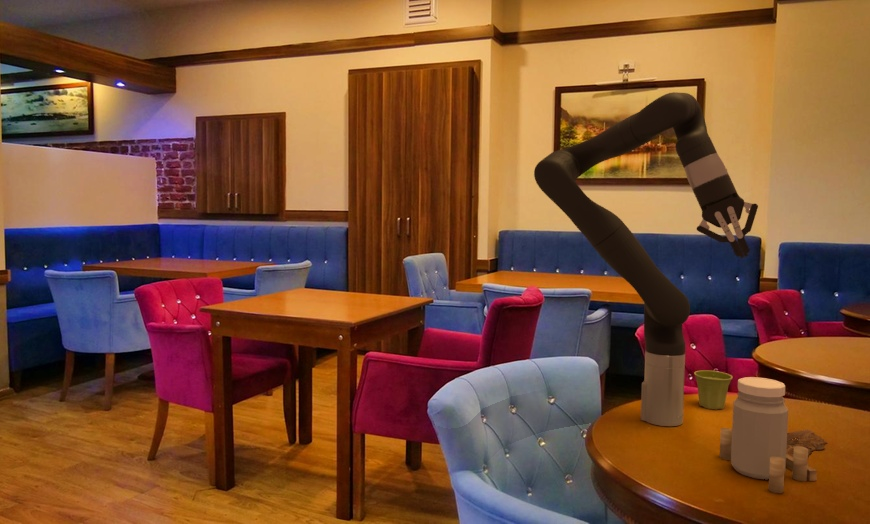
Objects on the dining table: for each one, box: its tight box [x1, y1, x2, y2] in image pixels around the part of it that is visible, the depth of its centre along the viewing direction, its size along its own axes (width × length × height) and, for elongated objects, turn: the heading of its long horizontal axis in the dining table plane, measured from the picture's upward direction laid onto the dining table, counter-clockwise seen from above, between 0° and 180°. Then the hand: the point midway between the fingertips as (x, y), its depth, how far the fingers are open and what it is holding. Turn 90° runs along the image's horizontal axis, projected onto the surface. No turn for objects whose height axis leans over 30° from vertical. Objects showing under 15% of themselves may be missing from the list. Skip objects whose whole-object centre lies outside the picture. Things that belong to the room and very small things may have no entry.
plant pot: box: [693, 369, 733, 410], centre depth 169 cm, size 9×9×9 cm
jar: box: [730, 376, 789, 481], centre depth 126 cm, size 10×10×18 cm
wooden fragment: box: [786, 429, 828, 458], centre depth 142 cm, size 26×11×1 cm, turn 132°
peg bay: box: [719, 427, 818, 494], centre depth 126 cm, size 12×18×6 cm, turn 7°
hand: (744, 256), depth 131 cm, fingers closed
